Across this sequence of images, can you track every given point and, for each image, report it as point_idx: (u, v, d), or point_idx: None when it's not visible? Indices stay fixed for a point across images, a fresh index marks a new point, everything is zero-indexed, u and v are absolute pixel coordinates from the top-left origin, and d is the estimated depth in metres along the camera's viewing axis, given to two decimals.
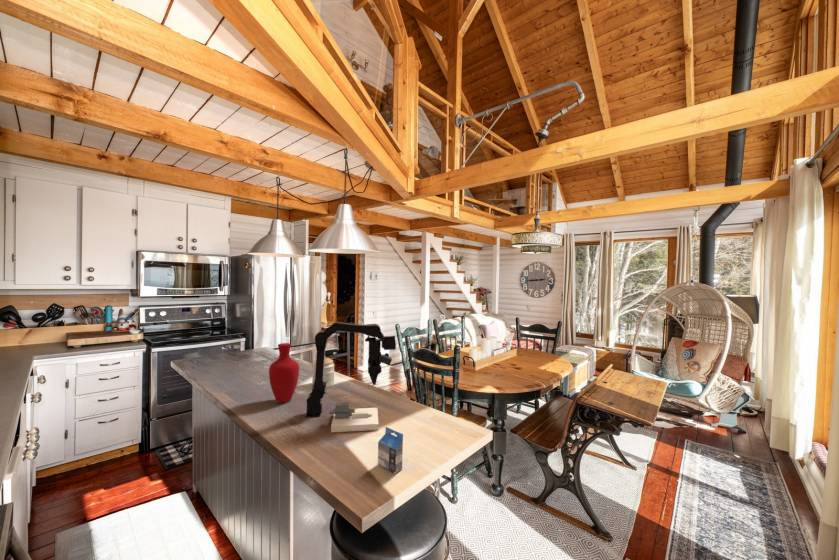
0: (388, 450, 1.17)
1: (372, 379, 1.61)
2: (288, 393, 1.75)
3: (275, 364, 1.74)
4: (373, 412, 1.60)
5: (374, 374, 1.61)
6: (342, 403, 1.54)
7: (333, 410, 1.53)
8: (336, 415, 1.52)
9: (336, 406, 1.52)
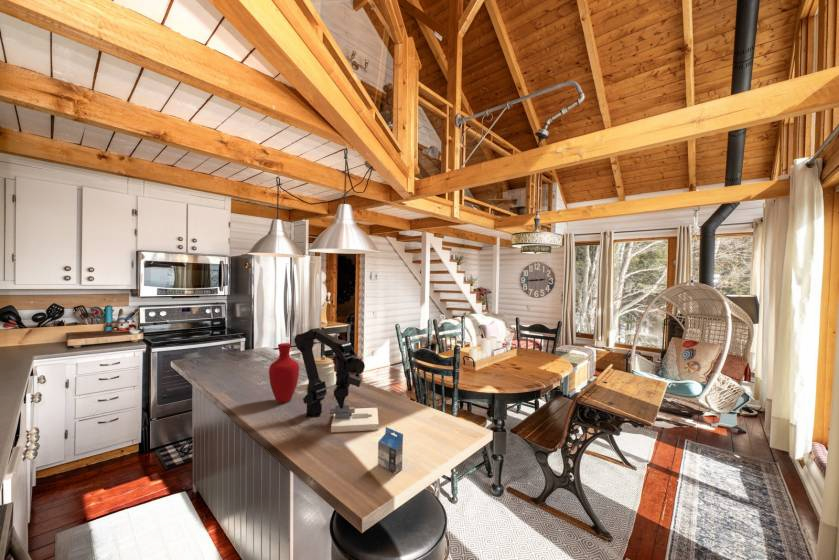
0: (388, 450, 1.17)
1: (339, 402, 1.48)
2: (288, 393, 1.75)
3: (275, 364, 1.74)
4: (373, 412, 1.60)
5: (341, 397, 1.48)
6: None
7: (333, 410, 1.53)
8: (336, 415, 1.52)
9: (336, 406, 1.52)
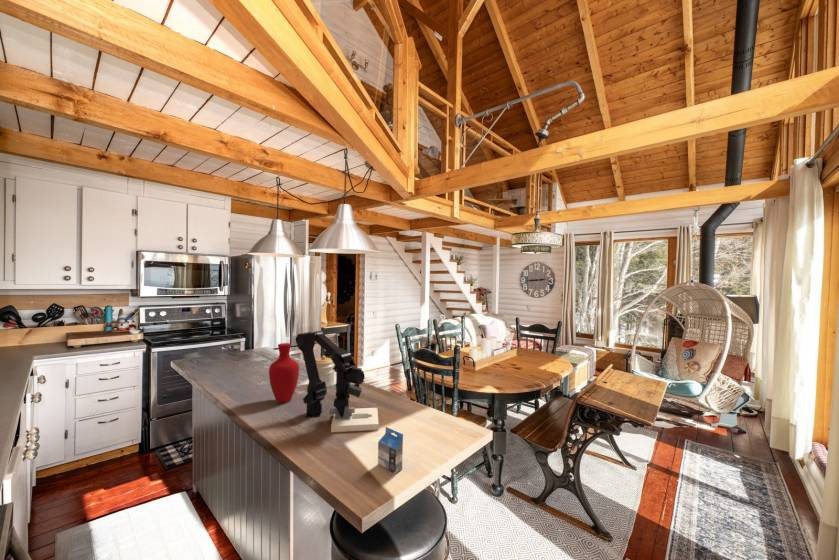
0: (388, 450, 1.17)
1: (339, 411, 1.51)
2: (288, 393, 1.75)
3: (275, 364, 1.74)
4: (373, 412, 1.60)
5: None
6: None
7: (333, 410, 1.53)
8: (336, 415, 1.52)
9: None
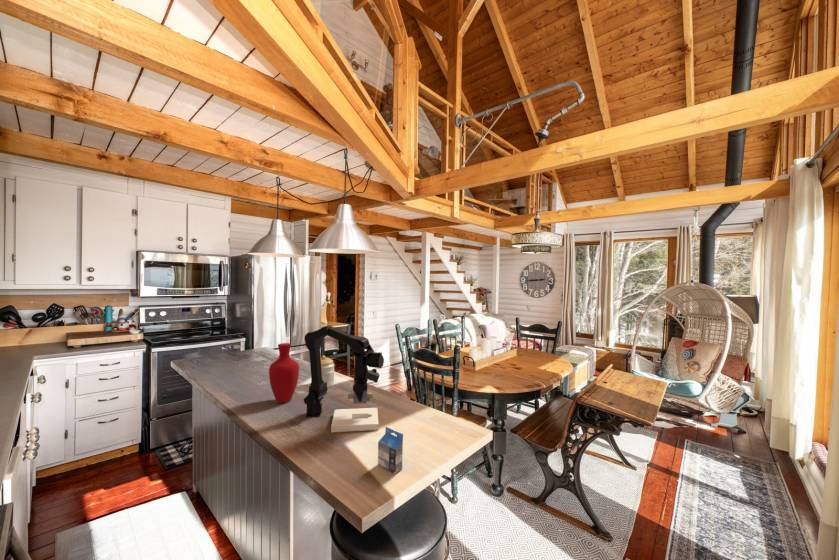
0: (388, 450, 1.17)
1: (358, 396, 1.52)
2: (288, 393, 1.75)
3: (275, 364, 1.74)
4: (373, 412, 1.60)
5: (360, 390, 1.52)
6: None
7: (351, 395, 1.54)
8: (354, 400, 1.53)
9: (354, 391, 1.53)
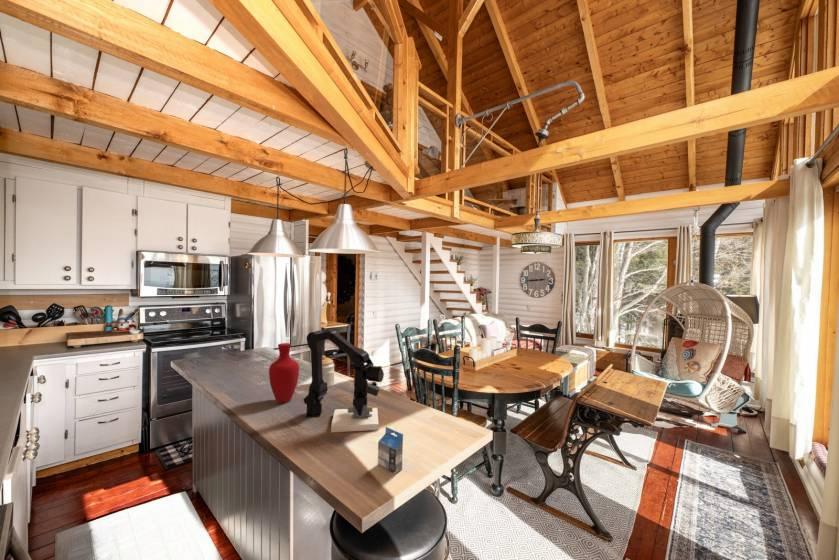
0: (388, 450, 1.17)
1: (357, 410, 1.52)
2: (288, 393, 1.75)
3: (275, 364, 1.74)
4: (373, 412, 1.60)
5: (360, 404, 1.52)
6: None
7: (351, 409, 1.55)
8: (354, 414, 1.53)
9: None
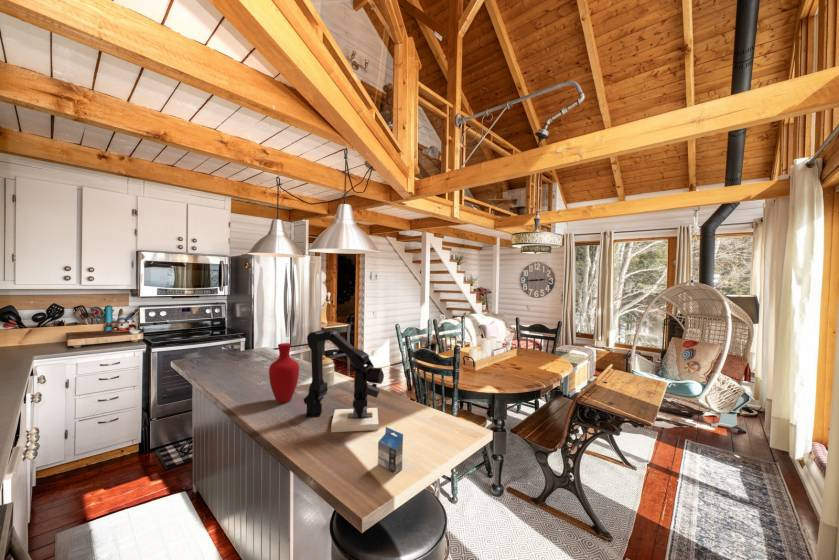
0: (388, 450, 1.17)
1: (357, 412, 1.51)
2: (288, 393, 1.75)
3: (275, 364, 1.74)
4: (373, 412, 1.60)
5: (360, 407, 1.51)
6: None
7: (351, 414, 1.55)
8: None
9: (354, 411, 1.53)
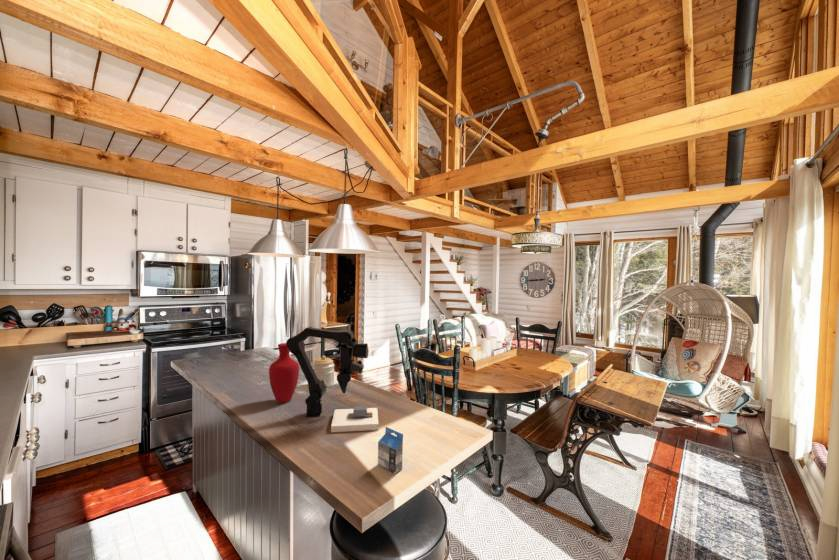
0: (388, 450, 1.17)
1: (341, 387, 1.56)
2: (288, 393, 1.75)
3: (275, 364, 1.74)
4: (373, 412, 1.60)
5: (344, 382, 1.56)
6: (360, 407, 1.56)
7: (351, 414, 1.55)
8: None
9: (354, 411, 1.53)
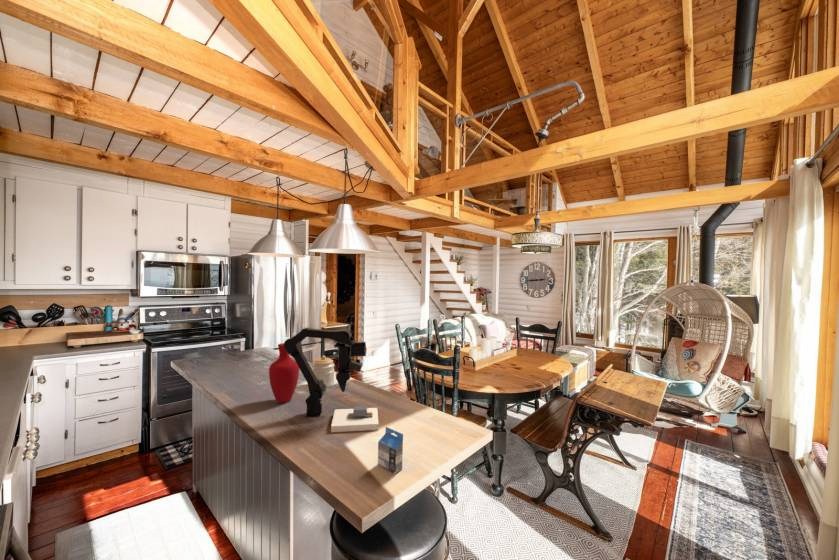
0: (388, 450, 1.17)
1: (341, 386, 1.57)
2: (288, 393, 1.75)
3: (275, 364, 1.74)
4: (373, 412, 1.60)
5: (343, 381, 1.57)
6: (360, 407, 1.56)
7: (351, 414, 1.55)
8: None
9: (354, 411, 1.53)
